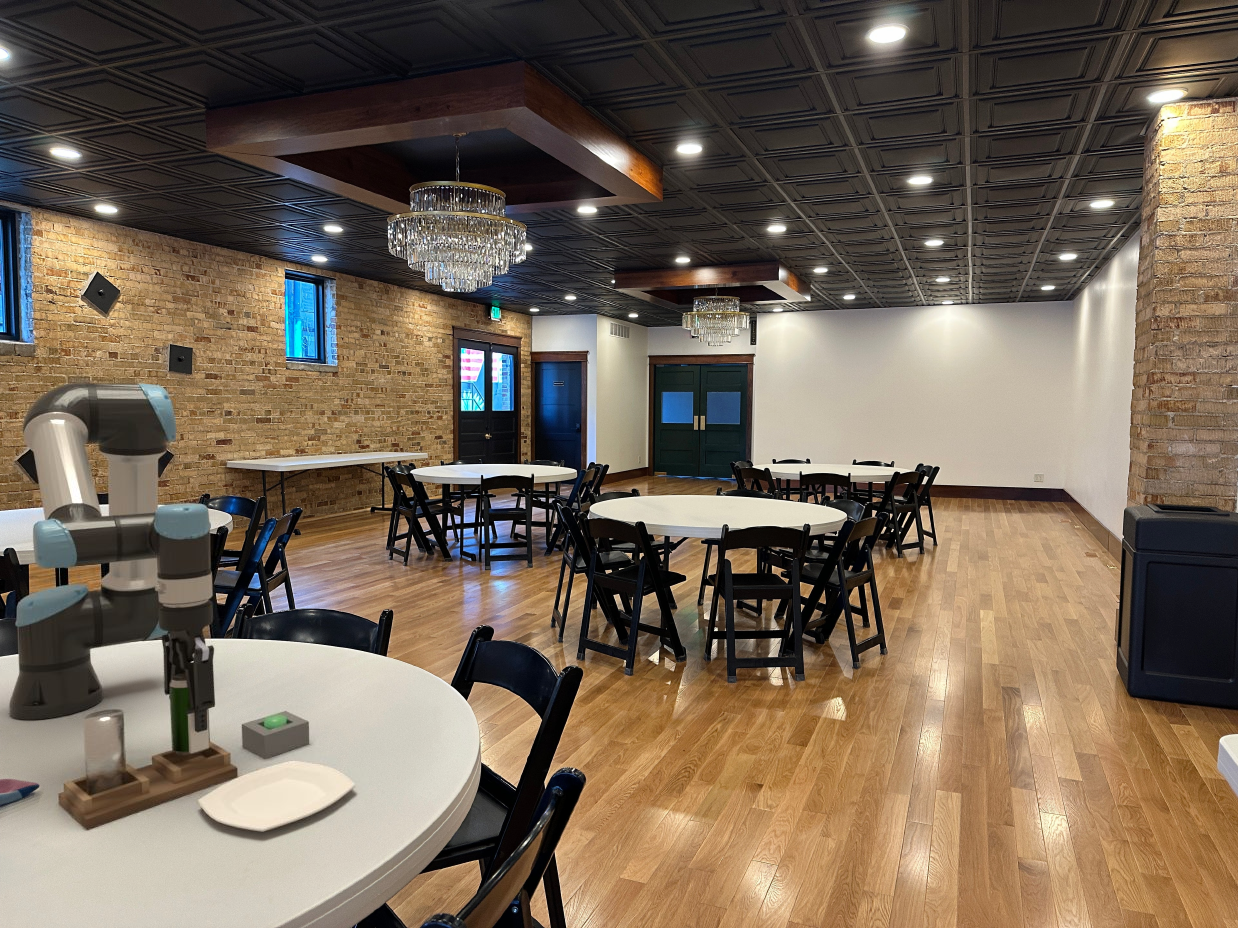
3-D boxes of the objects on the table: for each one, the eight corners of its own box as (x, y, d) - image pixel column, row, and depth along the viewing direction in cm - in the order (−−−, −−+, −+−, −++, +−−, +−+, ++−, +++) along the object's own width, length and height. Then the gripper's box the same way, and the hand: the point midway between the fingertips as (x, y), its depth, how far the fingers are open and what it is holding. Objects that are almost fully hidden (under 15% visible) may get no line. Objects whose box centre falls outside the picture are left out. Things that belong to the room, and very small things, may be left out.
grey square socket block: (242, 746, 139) (241, 723, 139) (286, 732, 145) (285, 710, 145) (265, 758, 134) (264, 735, 134) (309, 743, 140) (308, 721, 140)
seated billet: (81, 795, 118) (78, 716, 117) (119, 783, 122) (116, 706, 121) (94, 805, 115) (90, 724, 114) (132, 793, 119) (129, 714, 118)
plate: (259, 853, 106) (258, 838, 106) (179, 814, 116) (178, 801, 116) (373, 794, 122) (373, 782, 122) (294, 765, 133) (294, 753, 132)
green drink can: (173, 759, 124) (170, 683, 123) (170, 747, 128) (167, 674, 128) (212, 750, 127) (209, 677, 126) (208, 739, 131) (205, 668, 131)
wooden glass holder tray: (58, 803, 119) (57, 780, 119) (204, 756, 135) (203, 736, 135) (87, 829, 111) (86, 805, 111) (237, 776, 128) (237, 755, 127)
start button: (260, 735, 139) (260, 718, 139) (280, 729, 142) (279, 712, 142) (270, 740, 137) (270, 723, 137) (290, 734, 140) (290, 717, 140)
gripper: (136, 597, 129) (142, 737, 130) (185, 615, 117) (191, 769, 119) (185, 589, 135) (190, 723, 136) (236, 606, 123) (241, 752, 125)
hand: (190, 744), depth 128 cm, fingers closed on green drink can, 5 cm apart
